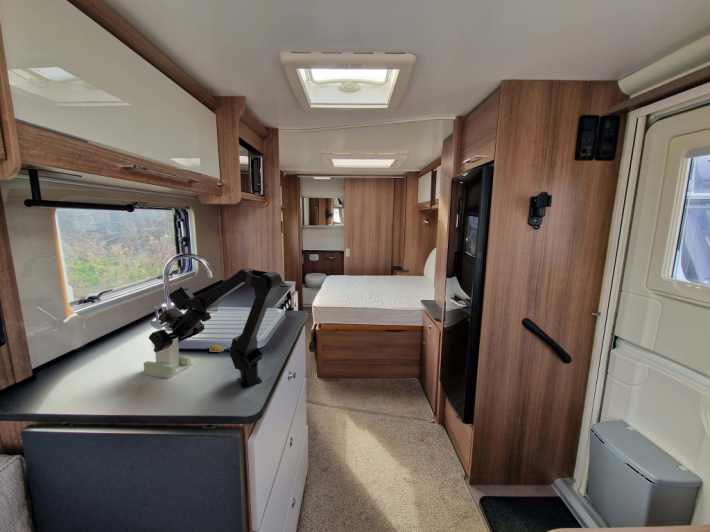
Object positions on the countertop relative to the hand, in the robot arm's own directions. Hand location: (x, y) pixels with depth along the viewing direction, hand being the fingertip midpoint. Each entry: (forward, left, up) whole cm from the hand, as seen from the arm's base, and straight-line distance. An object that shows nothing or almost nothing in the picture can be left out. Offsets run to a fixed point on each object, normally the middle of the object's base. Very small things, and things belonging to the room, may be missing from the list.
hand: (166, 346), depth 101 cm
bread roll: (+9, -19, -9) cm, 23 cm away
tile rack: (0, 0, -9) cm, 9 cm away
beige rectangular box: (0, 0, -8) cm, 8 cm away
